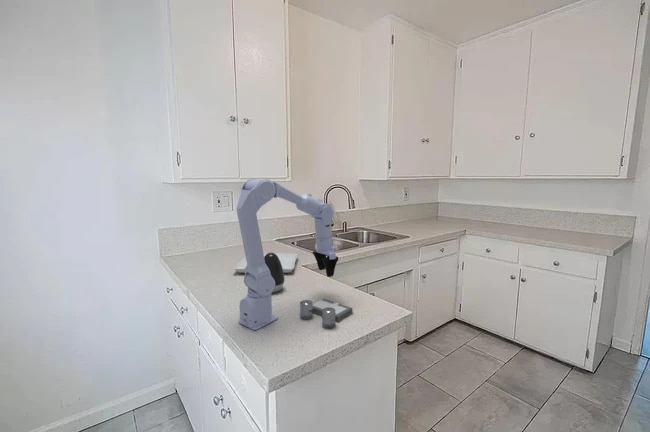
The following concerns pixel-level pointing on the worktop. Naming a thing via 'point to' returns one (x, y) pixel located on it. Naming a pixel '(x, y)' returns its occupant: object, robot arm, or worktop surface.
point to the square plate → (285, 259)
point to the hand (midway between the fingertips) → (326, 272)
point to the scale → (340, 310)
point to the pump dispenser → (275, 270)
